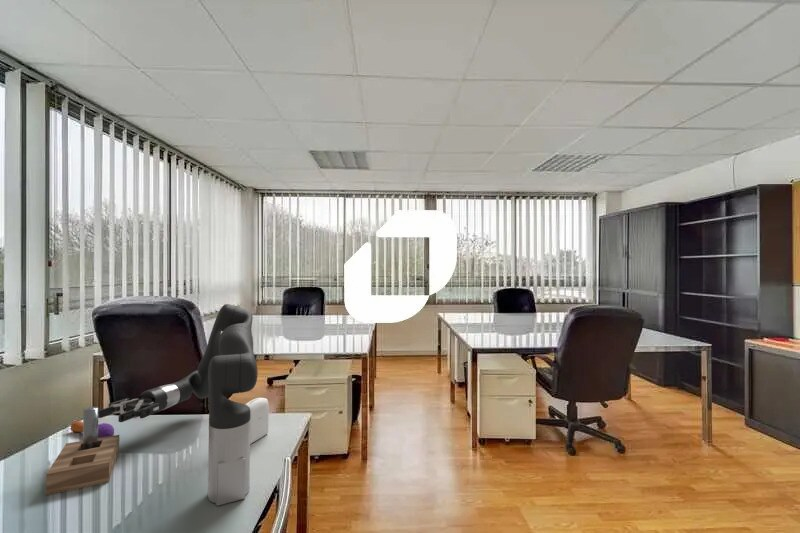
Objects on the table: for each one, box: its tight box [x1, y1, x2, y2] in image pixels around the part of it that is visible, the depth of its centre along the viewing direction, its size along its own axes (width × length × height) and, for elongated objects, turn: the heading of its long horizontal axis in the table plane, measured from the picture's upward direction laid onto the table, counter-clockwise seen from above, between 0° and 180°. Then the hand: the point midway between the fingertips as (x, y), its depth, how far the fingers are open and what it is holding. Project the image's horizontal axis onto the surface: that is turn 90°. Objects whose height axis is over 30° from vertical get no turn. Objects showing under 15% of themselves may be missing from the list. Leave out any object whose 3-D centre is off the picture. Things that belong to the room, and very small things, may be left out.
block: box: [45, 434, 120, 496], centre depth 102 cm, size 18×12×5 cm, turn 29°
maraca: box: [69, 420, 115, 438], centre depth 122 cm, size 6×6×20 cm
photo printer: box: [244, 397, 270, 445], centre depth 123 cm, size 10×4×12 cm, turn 160°
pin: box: [82, 406, 99, 450], centre depth 106 cm, size 3×3×14 cm
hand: (108, 416), depth 111 cm, fingers open, 8 cm apart
